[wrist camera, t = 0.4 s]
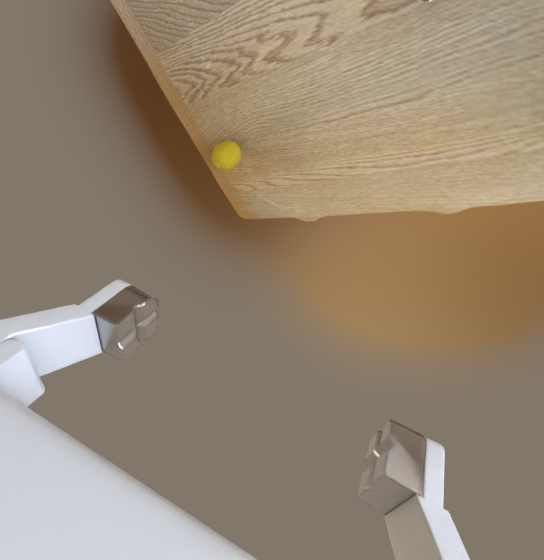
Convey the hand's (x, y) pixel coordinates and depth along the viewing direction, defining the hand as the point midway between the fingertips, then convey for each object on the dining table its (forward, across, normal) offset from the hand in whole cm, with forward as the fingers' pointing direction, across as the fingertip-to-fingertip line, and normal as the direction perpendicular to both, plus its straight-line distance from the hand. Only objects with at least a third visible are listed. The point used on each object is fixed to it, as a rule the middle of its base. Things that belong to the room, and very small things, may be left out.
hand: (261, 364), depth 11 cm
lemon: (+59, +32, +17) cm, 70 cm away
